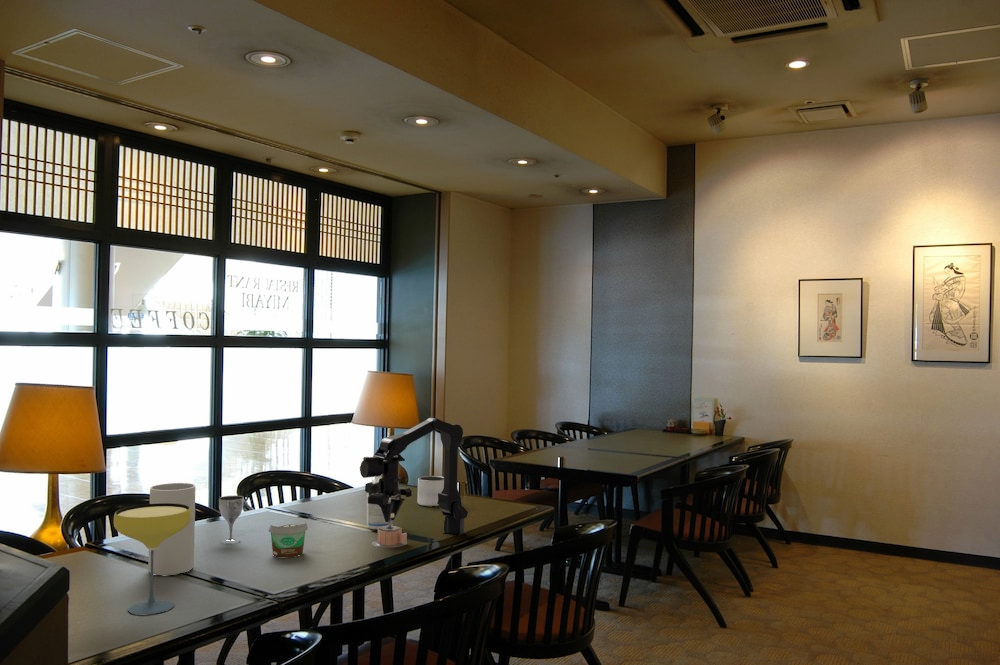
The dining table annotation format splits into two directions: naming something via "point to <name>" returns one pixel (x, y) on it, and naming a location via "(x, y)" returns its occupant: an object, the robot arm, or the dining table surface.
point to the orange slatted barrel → (391, 536)
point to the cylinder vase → (179, 547)
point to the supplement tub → (375, 516)
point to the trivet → (386, 546)
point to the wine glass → (231, 510)
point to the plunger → (390, 521)
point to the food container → (288, 540)
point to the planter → (429, 490)
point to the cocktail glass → (152, 537)
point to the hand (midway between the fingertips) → (389, 521)
